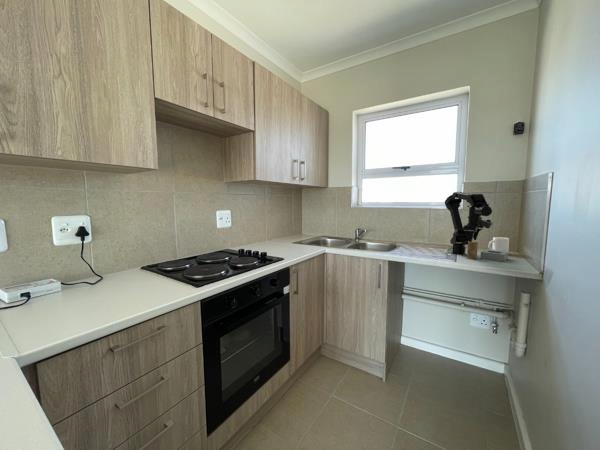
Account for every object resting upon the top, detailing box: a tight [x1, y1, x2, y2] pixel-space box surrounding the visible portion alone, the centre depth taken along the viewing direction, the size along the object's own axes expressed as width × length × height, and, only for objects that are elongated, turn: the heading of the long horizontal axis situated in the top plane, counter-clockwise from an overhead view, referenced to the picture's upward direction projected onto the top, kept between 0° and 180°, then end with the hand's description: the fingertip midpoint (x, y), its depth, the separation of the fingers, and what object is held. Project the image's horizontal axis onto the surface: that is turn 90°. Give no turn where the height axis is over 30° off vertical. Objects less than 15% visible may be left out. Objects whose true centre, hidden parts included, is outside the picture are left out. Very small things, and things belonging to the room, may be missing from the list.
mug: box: [487, 236, 510, 253], centre depth 161 cm, size 12×8×10 cm
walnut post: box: [466, 241, 479, 260], centre depth 148 cm, size 4×4×10 cm
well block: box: [480, 249, 509, 263], centre depth 147 cm, size 11×11×4 cm
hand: (472, 240), depth 147 cm, fingers open, 9 cm apart
